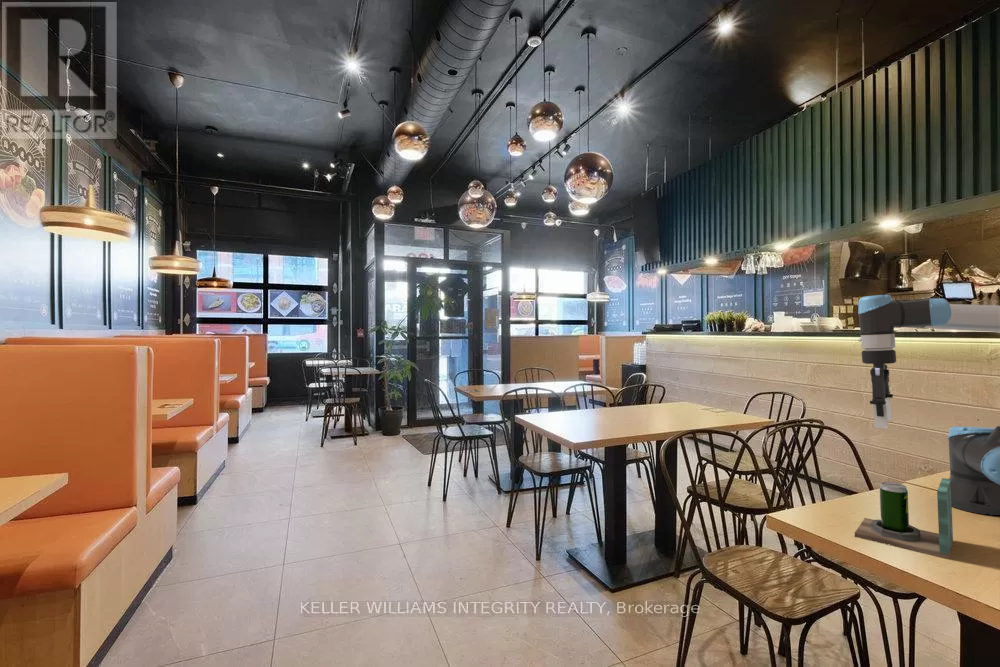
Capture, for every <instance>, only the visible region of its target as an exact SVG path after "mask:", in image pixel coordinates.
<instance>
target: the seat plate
mask: <svg viewBox="0 0 1000 667" xmlns="http://www.w3.org/2000/svg"><path fill="white" fill-rule="evenodd" d="M936 492H937V493H936V495H937V496H936V497H937V519H938V533H937V532H932V531H927V530H924V529H919V528H917V527H915V526H912V524H909V533H899V532H894V531H890V530H885V529H883V528H881V519H872V518H867V517H864V519H863V520H862V521H861V523H860V525H858V527H857V528H856V530H855V531H854V537H855V538H859V537H860V538H859V539H864V540H868V541H871V540H872V541H873V542H875V541H877V542H876V543H879V542H880V543H881V544H884V543H885V544H884V545H888V544H890V545H889V546H892V545H893V546H892V547H896V546H897V548H901V549H904V550H910V551H913V552H917V553H921V554H926V555H930V556H933V557H938V558H941V559H942V558H943V559H946V560H949V559H950V557H951V552H952V547H953V543H954V530H953V528H954V527H953V507H952V501H951V479H949V478H944V477H942V478H941V480H940V482H939V484H938V488H937V490H936ZM872 541H871V542H872Z"/></svg>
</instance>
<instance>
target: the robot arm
mask: <svg viewBox="0 0 1000 667" xmlns="http://www.w3.org/2000/svg"><path fill="white" fill-rule="evenodd" d="M857 306H858V312H857V314H858V320H859V321H858V322H859V331H860V338H858V340H857V341H858V342H859V343H860V342H861V343H860V346H861V349H862V351H861V361H862V364H869V365H871V364H872V367H871V369H870V372H869V373H870V376H871V385H872V388H871V389H872V394H871V395H872V400H869V404H870V405H873V416H874V417H873V419H874V428H875V429H886V430H888V429H889V421H892V420H893V419H892V409H891V406H892V405H891V399H893V398H894V397H893V394H892V393H891V391H890V385H889V382H890V369H888V365H889V364H891V365H892V364H895V363H897V352H896V350H894V349H895V348H896V335H895V329H896V328H898V329H899V328H912V329H935V330H954V331H955V330H956V331H957V330H958V331H970V332H971V331H973V332H974V331H975V332H990V333H991V332H992V333H993V332H994V333H1000V305H997V304H996V305H995V304H994V305H989V304H963V303H961V304H960V303H958V304H956V303H950V302H949V301H948V300H947V299H945V298H942V297H941V298H940V297H939V298H933V297H932V298H923V299H922V298H921V299H911V300H900V301H899V300H893V298H892V295H890V294H878V295H875V294H874V295H867V296H861V297H860V298H859V300H858V304H857ZM947 436H948V437H947V439H948V455H949V457H948V458H949V473H950V475H949V478H948V479H951V501H952V508H955V509H958V510H962V511H965V512H969V513H974V512H975V514H979V513H980V514H979V515H985V514H990V515H989V516H992V515H1000V424H998V425H997V426H996V427H985V426H983V427H982V426H960V425H959V426H951V427H949V429H948V435H947Z"/></svg>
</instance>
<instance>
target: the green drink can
mask: <svg viewBox="0 0 1000 667" xmlns="http://www.w3.org/2000/svg"><path fill="white" fill-rule="evenodd" d="M908 492H909V491H908V489H907V485H905V484H902V483H899V482H894V481H893V482H892V481H881V482H880V485H879V501H880V502H879V506H880V520H881V528H883V529H885V530H890V531H894V532H899V533H909V525H910V516H909V515H910V514H909V513H910V512H909V493H908Z"/></svg>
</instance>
